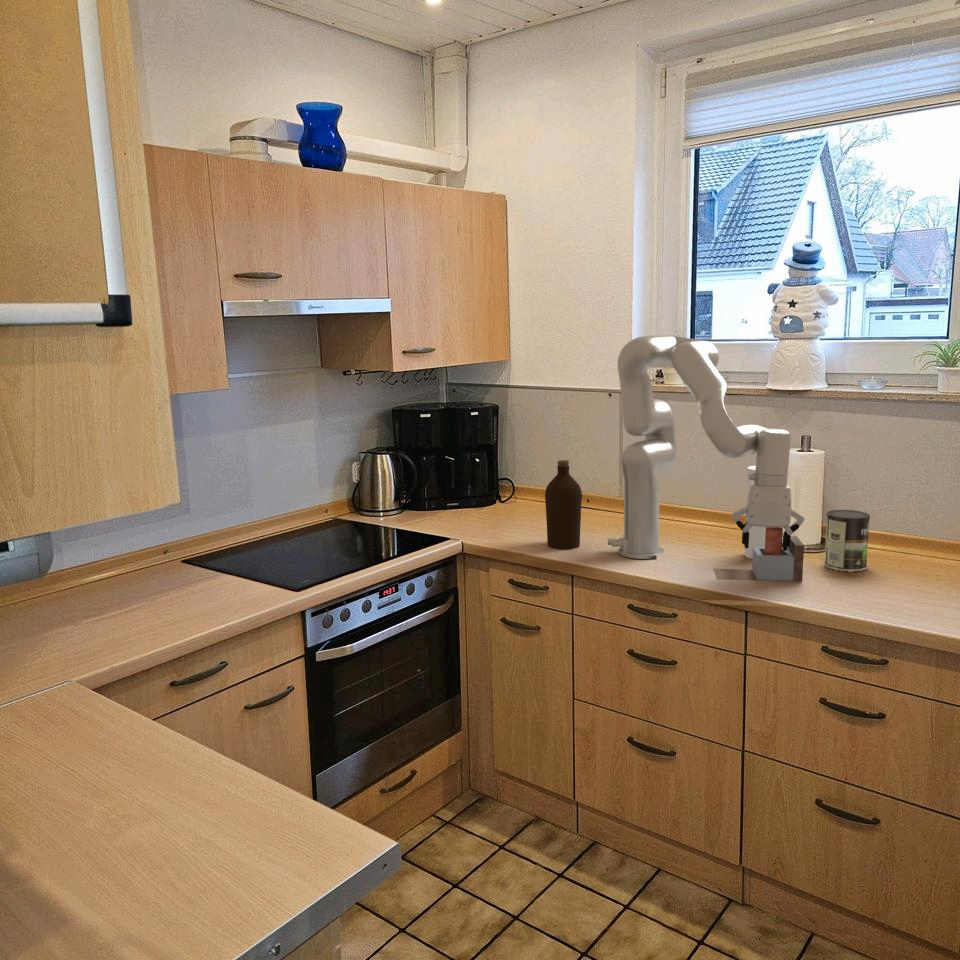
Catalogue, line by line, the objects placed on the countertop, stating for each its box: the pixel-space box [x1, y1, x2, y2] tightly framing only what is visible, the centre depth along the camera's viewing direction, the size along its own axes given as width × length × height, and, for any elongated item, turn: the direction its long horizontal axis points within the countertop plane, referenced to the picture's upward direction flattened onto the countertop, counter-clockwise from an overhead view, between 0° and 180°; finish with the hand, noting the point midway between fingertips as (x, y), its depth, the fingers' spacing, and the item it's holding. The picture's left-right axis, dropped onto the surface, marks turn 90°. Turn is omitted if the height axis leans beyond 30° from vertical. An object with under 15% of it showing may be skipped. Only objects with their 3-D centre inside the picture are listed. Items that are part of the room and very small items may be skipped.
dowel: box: [764, 527, 784, 555], centre depth 210 cm, size 4×4×12 cm
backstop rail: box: [713, 535, 805, 583], centre depth 211 cm, size 20×9×10 cm, turn 80°
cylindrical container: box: [744, 465, 766, 560], centre depth 227 cm, size 7×7×25 cm
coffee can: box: [823, 509, 871, 573], centre depth 219 cm, size 10×10×14 cm
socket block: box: [751, 547, 795, 582], centre depth 211 cm, size 8×8×6 cm
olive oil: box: [544, 459, 583, 550], centre depth 245 cm, size 11×11×25 cm
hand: (765, 547), depth 210 cm, fingers open, 8 cm apart
